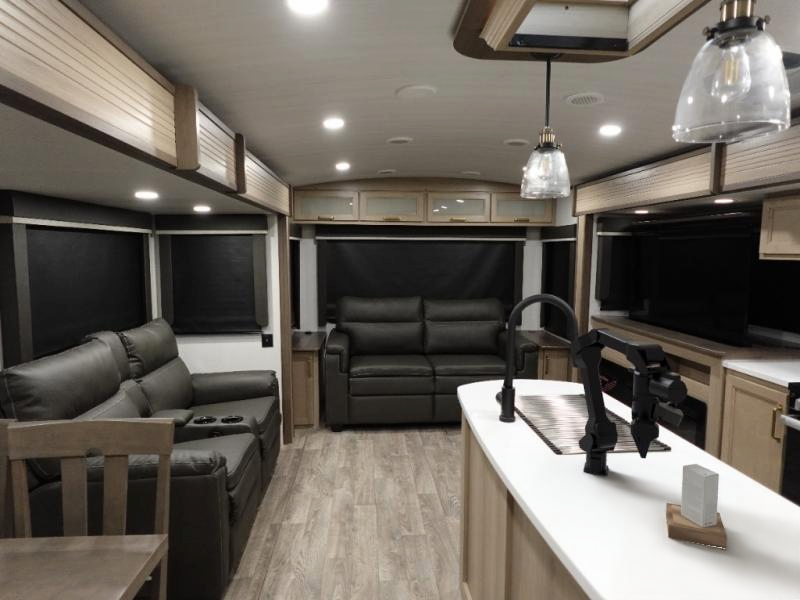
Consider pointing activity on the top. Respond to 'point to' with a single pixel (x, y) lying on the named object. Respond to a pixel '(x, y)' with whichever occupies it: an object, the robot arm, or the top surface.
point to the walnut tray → (694, 529)
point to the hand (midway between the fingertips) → (643, 451)
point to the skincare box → (699, 495)
